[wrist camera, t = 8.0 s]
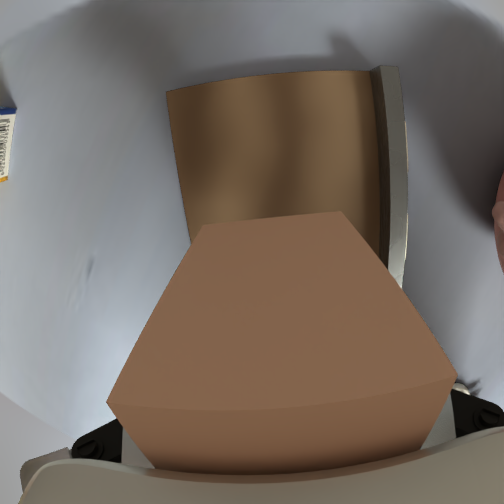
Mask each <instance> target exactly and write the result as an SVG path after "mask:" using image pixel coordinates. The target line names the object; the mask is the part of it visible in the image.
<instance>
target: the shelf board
mask: <svg viewBox="0 0 504 504" xmlns="http://www.w3.org/2000/svg"><path fill="white" fill-rule="evenodd" d="M166 97H167V104H168V112H169V119H170V126H171V132H172V139H173V145H174V152H175V158H176V164H177V170H178V176H179V182H180V187H181V193H182V198H183V204H184V209H185V214H186V220H187V225H188V230H189V235H190V240H191V244H192V243H193V241H194V239H195V238H196V236H197V234H198V233H199V231H200V229H201V228H202V226H203V225H208V224H216V223H225V222H234V221H243V220H253V219H262V218H272V217H282V216H292V215H303V214H314V213H325V212H337V211H341V212H342V213H343V214H344V215H345V217H346V218H347V219H348V220H349V221H350V223H351V224H352V225H353V226H354V227H355V229H356V230H357V231H358V232H359V234H360V235H361V236H362V237H363V239H364V240H365V241H366V242H367V244H368V245H369V246H370V247H371V249H372V250H373V251H374V253H375V254H376V255H377V256H378V258H379V235H380V189H379V162H378V145H377V132H376V121H375V111H374V102H373V94H372V86H371V79H370V72H369V71H305V72H289V73H277V74H266V75H257V76H249V77H241V78H234V79H228V80H221V81H215V82H210V83H204V84H199V85H194V86H189V87H185V88H180V89H176V90H171V91H167V92H166Z"/></svg>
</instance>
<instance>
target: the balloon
mask: <svg viewBox="0 0 504 504" xmlns="http://www.w3.org/2000/svg"><path fill="white" fill-rule="evenodd" d="M492 216H493V218H494V229H495V241H496V247H497V253H498V257H499V261H500V265H501V268H502V270H503V273H504V172H503V174H502V177H501V180H500V184H499V188H498V192H497V197H496V203H495V205H494V207H493V209H492Z"/></svg>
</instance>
